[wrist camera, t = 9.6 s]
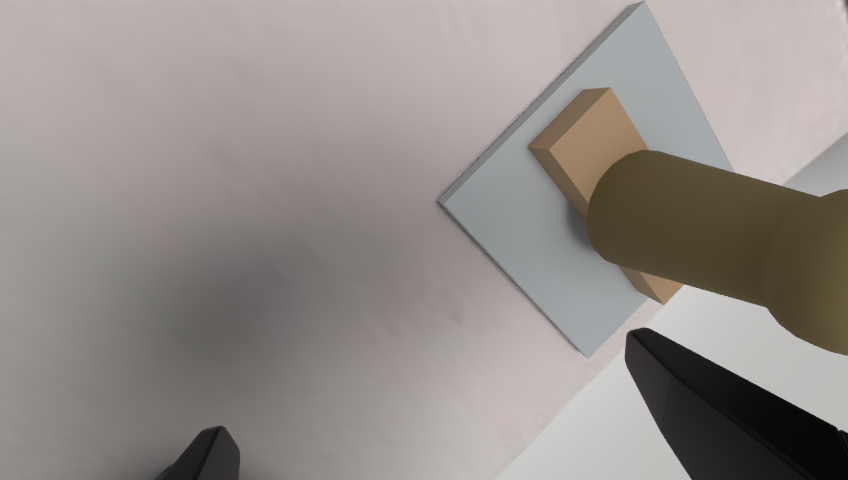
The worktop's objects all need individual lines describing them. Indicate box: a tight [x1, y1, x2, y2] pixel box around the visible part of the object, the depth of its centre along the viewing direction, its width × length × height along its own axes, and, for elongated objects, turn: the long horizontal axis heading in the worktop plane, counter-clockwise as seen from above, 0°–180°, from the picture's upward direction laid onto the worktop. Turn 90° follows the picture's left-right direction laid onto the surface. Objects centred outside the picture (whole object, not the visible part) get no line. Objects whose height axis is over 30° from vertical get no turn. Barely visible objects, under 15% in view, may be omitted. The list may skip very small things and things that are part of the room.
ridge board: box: [437, 1, 735, 358], centre depth 23 cm, size 14×14×3 cm
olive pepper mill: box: [586, 150, 848, 356], centre depth 17 cm, size 6×6×11 cm
